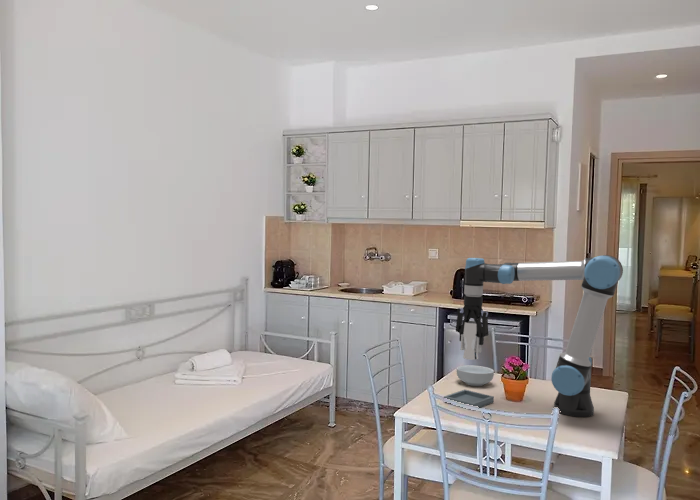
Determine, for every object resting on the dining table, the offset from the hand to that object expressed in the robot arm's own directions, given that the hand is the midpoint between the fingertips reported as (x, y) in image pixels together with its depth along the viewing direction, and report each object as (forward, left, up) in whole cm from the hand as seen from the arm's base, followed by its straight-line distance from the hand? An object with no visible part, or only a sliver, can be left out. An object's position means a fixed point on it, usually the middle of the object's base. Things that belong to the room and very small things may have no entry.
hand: (470, 351), depth 251 cm
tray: (0, 0, -21) cm, 21 cm away
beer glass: (0, 0, -3) cm, 3 cm away
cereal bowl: (+14, -28, -22) cm, 38 cm away
